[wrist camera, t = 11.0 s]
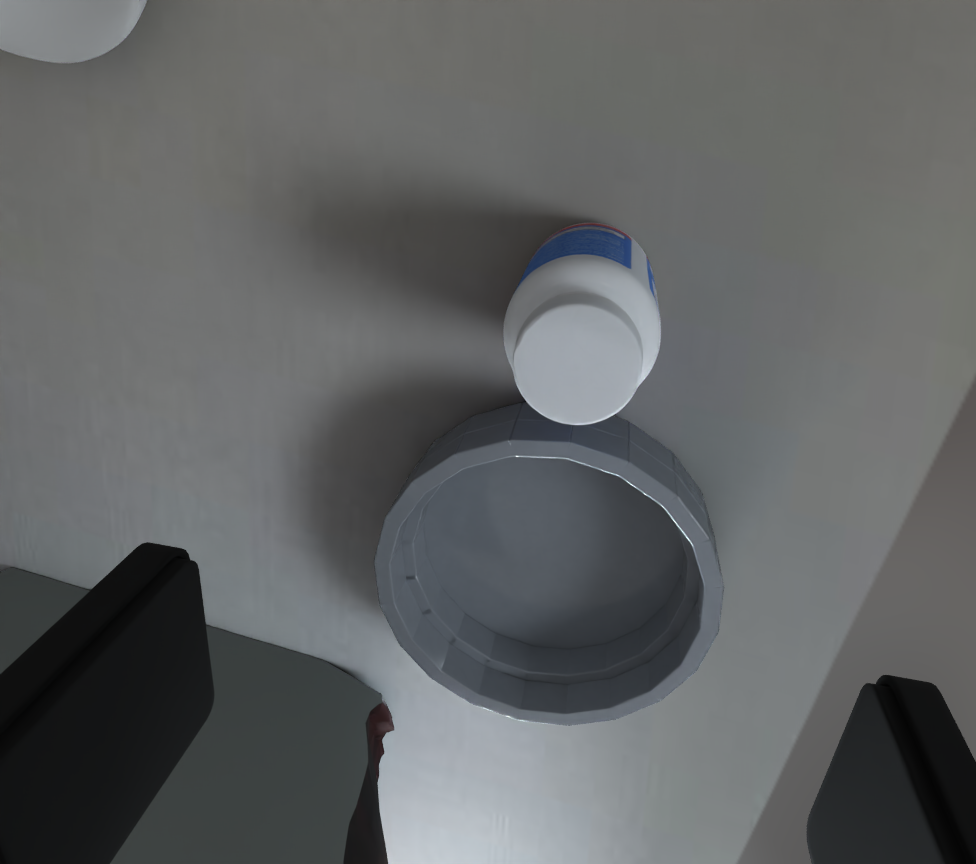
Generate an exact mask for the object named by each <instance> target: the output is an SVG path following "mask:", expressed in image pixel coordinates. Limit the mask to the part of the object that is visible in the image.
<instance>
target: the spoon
mask: <svg viewBox="0 0 976 864" xmlns="http://www.w3.org/2000/svg"><path fill="white" fill-rule="evenodd" d="M146 2H147V0H0V49H1V50H3V51H6V52H9V53H13V54H16V55H19V56H23V57H27V58H31V59H36V60H41V61H46V62H53V63H77V62H82V61H87V60H90V59H93V58H96V57H98V56H100V55H103V54H105V53H107V52H108V51H110V50H112V49H113V48H115V47H116V46H117V45H118V44H120V43H121V42H122V41H123V40H124V39H125V38H126V37H127V36H128V35H129V33H130V32H131V31H132V29H133V28H134V26H135V25H136V23H137V21H138V20H139V18H140V16H141V14H142V12H143V10H144V8H145V5H146Z"/></svg>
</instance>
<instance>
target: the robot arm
mask: <svg viewBox="0 0 976 864" xmlns="http://www.w3.org/2000/svg"><path fill="white" fill-rule="evenodd" d="M213 703H214V685H213V677H212V669H211V661H210V653H209V646H208V638H207V630H206V622H205V614H204V607H203V599H202V591H201V583H200V575H199V568H198V565H197V563H196V562H195V561H192V560H190V558H189V554H188V553H187V551H186V550H184V549H182V548H177V547H171V546H165V545H160V544H154V543H149V542H147V543H142V544H141V545H140V546H138V547H137V548H136V549H135V550H133V551H132V552H131V553H130V554H129V555H128V556H127V557H126V558H125V559H124V560H123V561H122V562H121V563H120V564H118V565H117V566H116V567H115V568H114V569H113V570H112V571H111V572H110V573H109V574H108V575H107V576H106V577H104V578H103V579H102V580H101V581H100V582H99V583H98V584H97V585H96V586H95V587H94V588H93V589H92V590H90V591H89V592H88V593H87V594H86V595H85V596H84V597H83V598H82V599H81V600H80V601H79V602H78V603H76V604H75V605H74V606H73V607H72V608H71V609H70V610H69V611H68V612H67V613H66V614H65V615H64V616H62V617H61V618H60V619H59V620H58V621H57V622H56V623H55V624H54V625H53V626H52V627H51V628H50V629H48V630H47V631H46V632H45V633H44V634H43V635H42V636H41V637H40V638H39V639H38V640H37V641H36V642H34V643H33V644H32V645H31V646H30V647H29V648H28V649H27V650H26V651H25V652H24V653H23V654H22V655H20V656H19V657H18V658H17V659H16V660H15V661H14V662H13V663H12V664H11V665H10V666H9V667H8V668H6V669H5V670H4V671H3V672H2V673H1V674H0V864H110V863H111V861H112V860H113V859H114V857H115V856H116V854H117V853H118V851H119V850H120V848H121V847H122V845H123V844H124V842H125V841H126V839H127V838H128V836H129V835H130V833H131V832H132V830H133V829H134V827H135V826H136V824H137V823H138V821H139V820H140V818H141V817H142V815H143V814H144V812H145V811H146V809H147V808H148V807H149V805H150V804H151V802H152V801H153V799H154V798H155V796H156V795H157V793H158V792H159V790H160V789H161V787H162V786H163V784H164V783H165V781H166V780H167V778H168V777H169V775H170V774H171V772H172V771H173V769H174V768H175V766H176V765H177V763H178V762H179V760H180V759H181V757H182V756H183V755H184V753H185V752H186V750H187V749H188V747H189V746H190V744H191V743H192V741H193V740H194V738H195V737H196V735H197V734H198V732H199V731H200V729H201V728H202V726H203V725H204V723H205V722H206V720H207V718H208V717H209V715H210V712H211V710H212V707H213ZM807 843H808V849H809V853H810V858H811V862H812V864H976V762H975V760H974V758H973V756H972V754H971V752H970V750H969V748H968V746H967V744H966V742H965V740H964V738H963V736H962V734H961V732H960V730H959V728H958V726H957V724H956V723H955V720H954V718H953V716H952V714H951V712H950V710H949V708H948V706H947V704H946V702H945V700H944V698H943V696H942V694H941V693H940V691H939V690H938V688H937V687H936V686H935V685H934V684H932V683H929V682H923V681H918V680H912V679H907V678H901V677H895V676H890V675H883V676H881V677H880V678H879V679H878V681H877V682H876V684H870V683H867V684H865V685H864V686H863V687H862V689H861V691H860V693H859V696H858V698H857V701H856V703H855V706H854V708H853V710H852V713H851V715H850V718H849V720H848V723H847V725H846V727H845V730H844V732H843V734H842V737H841V739H840V742H839V744H838V747H837V749H836V751H835V754H834V756H833V759H832V761H831V764H830V766H829V768H828V771H827V773H826V776H825V778H824V780H823V783H822V785H821V788H820V790H819V793H818V795H817V797H816V800H815V802H814V805H813V807H812V809H811V812H810V814H809V818H808V822H807Z"/></svg>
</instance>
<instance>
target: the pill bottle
mask: <svg viewBox="0 0 976 864" xmlns="http://www.w3.org/2000/svg"><path fill="white" fill-rule="evenodd" d="M503 340H504V347H505V350H506V354H507V357H508V360H509V363H510V365H511V367H512V369H513V373H514V378H515V382H516V384H517V387H518V389H519V391H520V393H521V395H522V396H523V397H524V399H525V400H526V401H527V403H528V404H529V405H530V406H531V407H532V408H533V409H535V410H536V411H537V412H539V413H540V414H541V415H543V416H545V417H547V418H549V419H551V420H553V421H557V422H560V423H564V424H571V425H586V424H592V423H596V422H599V421H602V420H605V419H607V418H609V417H611V416H613V415H614V414H616V413H617V412H618V411H620V410H621V409H622V408H623V407H624V406H625V405H626V404H627V403H628V402H629V401H630V399H631V398H632V396H633V395H634V393H635V391H636V389H637V387H638V386H639V385H640V384H641V383H642V382H643V381H644V379H645V378H646V377H647V375H648V374H649V372H650V371H651V369H652V367H653V365H654V363H655V361H656V358H657V355H658V352H659V348H660V341H661V324H660V315H659V308H658V301H657V294H656V288H655V281H654V276H653V272H652V268H651V265H650V263H649V260H648V258H647V256H646V254H645V253H644V251H643V249H642V248H641V247H640V245H639V244H638V243H637V242H636V241H635V240H634V239H633V238H632V237H631V236H629V235H628V234H627V233H625V232H623V231H622V230H620V229H618V228H616V227H613V226H610V225H606V224H602V223H580V224H575V225H571V226H568V227H566V228H563V229H561V230H559V231H557V232H556V233H554V234H553V235H551V236H550V237H549V238H547V239H546V240H545V241H544V242H543V243H542V244H541V246H540V247H539V248H538V249H537V250H536V252H535V253H534V255H533V256H532V258H531V260H530V262H529V264H528V266H527V268H526V270H525V272H524V274H523V276H522V278H521V280H520V282H519V284H518V286H517V288H516V290H515V292H514V294H513V296H512V299H511V301H510V303H509V306H508V308H507V311H506V315H505V320H504V326H503Z"/></svg>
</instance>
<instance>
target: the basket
mask: <svg viewBox="0 0 976 864" xmlns="http://www.w3.org/2000/svg"><path fill="white" fill-rule="evenodd" d="M89 591H90V590H86V589H83V588H80V587H76V586H73V585H69V584H66V583H63V582H59V581H56V580H53V579H49V578H46V577H43V576H39V575H36V574H33V573H29V572H26V571H23V570H19V569H16V568H9V569H7V570H5V571H2V572H0V674H1V673H2V672H3V671H4V670H5V669H6V668H8V667H9V666H10V665H11V664H12V663H13V662H14V661H15V660H16V659H17V658H18V657H19V656H20V655H22V654H23V653H24V652H25V651H26V650H27V649H28V648H29V647H30V646H31V645H32V644H33V643H34V642H36V641H37V640H38V639H39V638H40V637H41V636H42V635H43V634H44V633H45V632H46V631H47V630H48V629H50V628H51V627H52V626H53V625H54V624H55V623H56V622H57V621H58V620H59V619H60V618H61V617H62V616H64V615H65V614H66V613H67V612H68V611H69V610H70V609H71V608H72V607H73V606H74V605H75V604H76V603H78V602H79V601H80V600H81V599H82V598H83V597H84V596H85V595H86V594H87V593H88V592H89ZM206 630H207V638H208V646H209V653H210V661H211V669H212V677H213V685H214V703H213V707H212V710H211V712H210V715H209V717H208V718H207V720H206V722H205V723H204V725H203V726H202V728H201V729H200V731H199V732H198V734H197V735H196V737H195V738H194V740H193V741H192V743H191V744H190V746H189V747H188V749H187V750H186V752H185V753H184V755H183V756H182V757H181V759H180V760H179V762H178V763H177V765H176V766H175V768H174V769H173V771H172V772H171V774H170V775H169V777H168V778H167V780H166V781H165V783H164V784H163V786H162V787H161V789H160V790H159V792H158V793H157V795H156V796H155V798H154V799H153V801H152V802H151V804H150V805H149V807H148V808H147V809H146V811H145V812H144V814H143V815H142V817H141V818H140V820H139V821H138V823H137V824H136V826H135V827H134V829H133V830H132V832H131V833H130V835H129V836H128V838H127V839H126V841H125V842H124V844H123V845H122V847H121V848H120V850H119V851H118V853H117V854H116V856H115V857H114V859H113V860H112V861H111V863H110V864H388V860H387V853H386V847H385V841H384V835H383V829H382V824H381V818H380V812H379V798H378V785H377V782H378V778H379V763H380V759H381V757H382V755H383V754H384V748H383V743H382V739H383V737H384V736H385V734H386V732H390V731H393V730H394V725H393V722H392V716H391V713H390V711H389V709H388V706H387V704H386V702H385V701H384V699H383V697H382V694H381V693H379V692H377V691H376V690H374V689H372V688H370V687H369V686H367V685H365V684H364V683H362V682H360V681H358V680H357V679H355V678H353V677H351V676H350V675H348V674H346V673H345V672H343V671H341V670H339V669H338V668H336V667H334V666H332V665H331V664H329V663H327V662H326V661H324V660H321V659H318V658H314V657H311V656H308V655H304V654H301V653H297V652H294V651H291V650H287V649H284V648H281V647H277V646H274V645H271V644H267V643H264V642H261V641H257V640H254V639H251V638H247V637H244V636H240V635H237V634H234V633H230V632H227V631H224V630H220V629H217V628H214V627H210V626H207V625H206Z"/></svg>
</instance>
